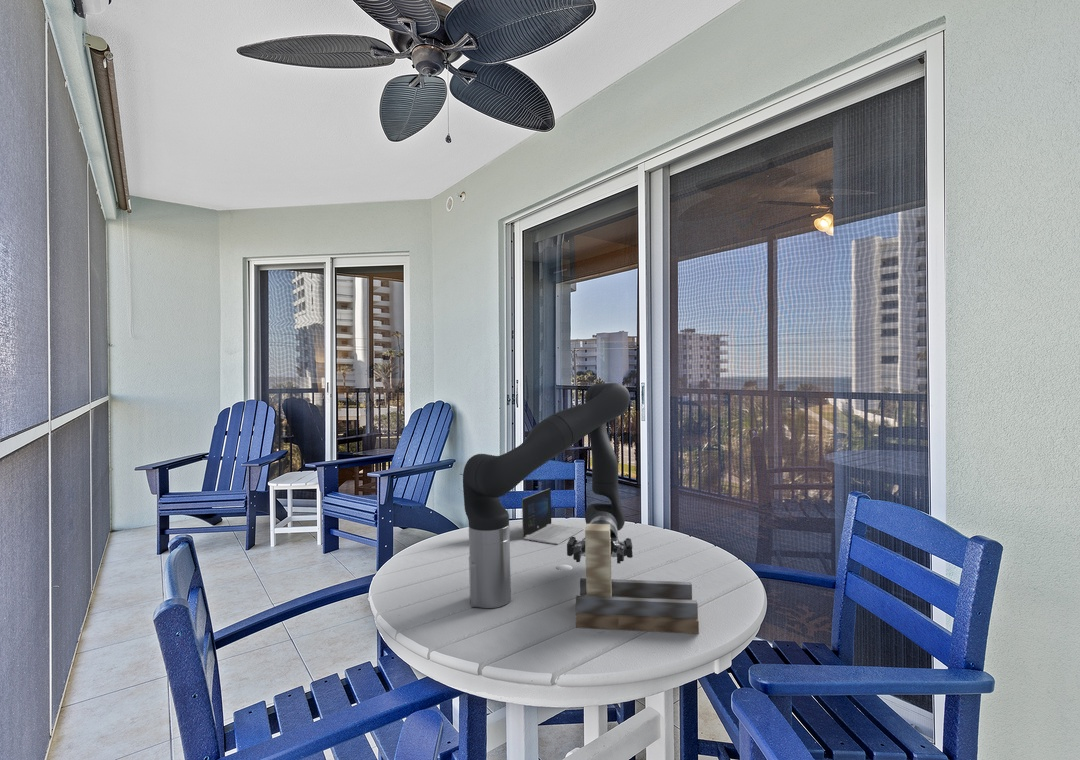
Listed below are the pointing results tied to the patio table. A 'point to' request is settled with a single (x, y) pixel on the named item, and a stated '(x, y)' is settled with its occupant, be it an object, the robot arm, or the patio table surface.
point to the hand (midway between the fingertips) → (598, 558)
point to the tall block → (598, 560)
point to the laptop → (543, 520)
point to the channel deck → (640, 607)
